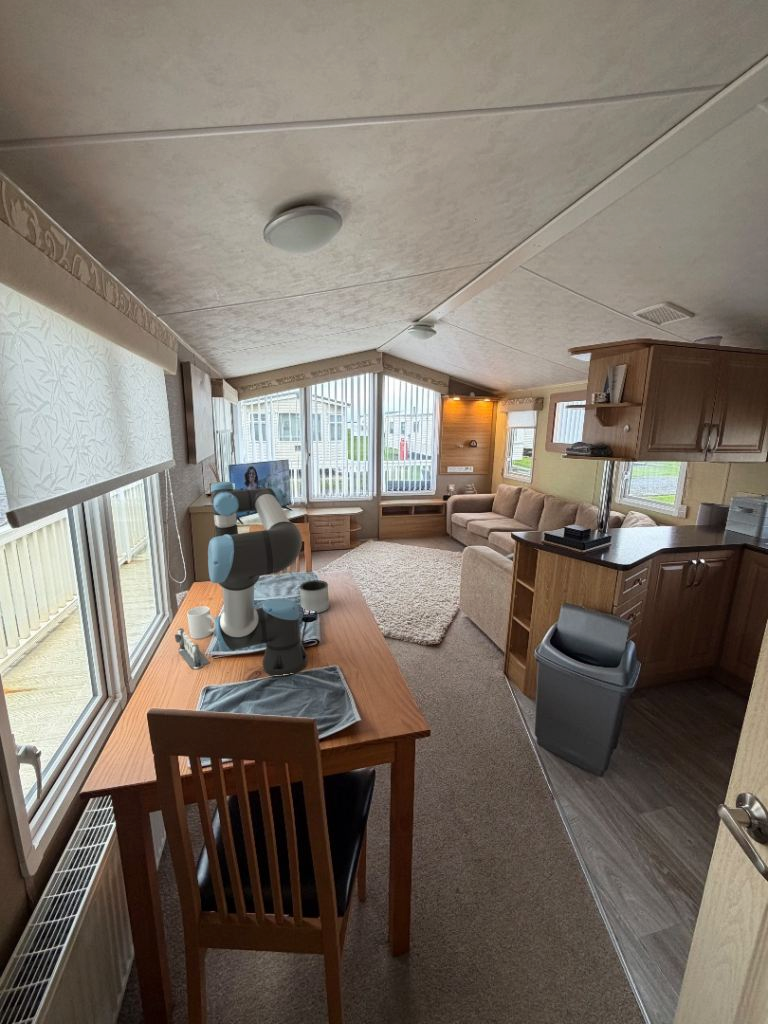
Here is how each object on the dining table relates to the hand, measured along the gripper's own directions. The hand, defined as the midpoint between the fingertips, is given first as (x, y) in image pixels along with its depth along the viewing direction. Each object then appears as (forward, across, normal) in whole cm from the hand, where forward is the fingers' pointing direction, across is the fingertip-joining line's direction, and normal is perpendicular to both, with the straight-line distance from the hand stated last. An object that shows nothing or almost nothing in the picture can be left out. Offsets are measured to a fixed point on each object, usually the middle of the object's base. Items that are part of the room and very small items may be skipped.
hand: (232, 586), depth 157 cm
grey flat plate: (+24, +14, +8) cm, 29 cm away
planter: (+24, -27, -28) cm, 45 cm away
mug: (+24, +16, -9) cm, 30 cm away
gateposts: (+24, +16, +8) cm, 29 cm away
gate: (+23, +15, +7) cm, 28 cm away
